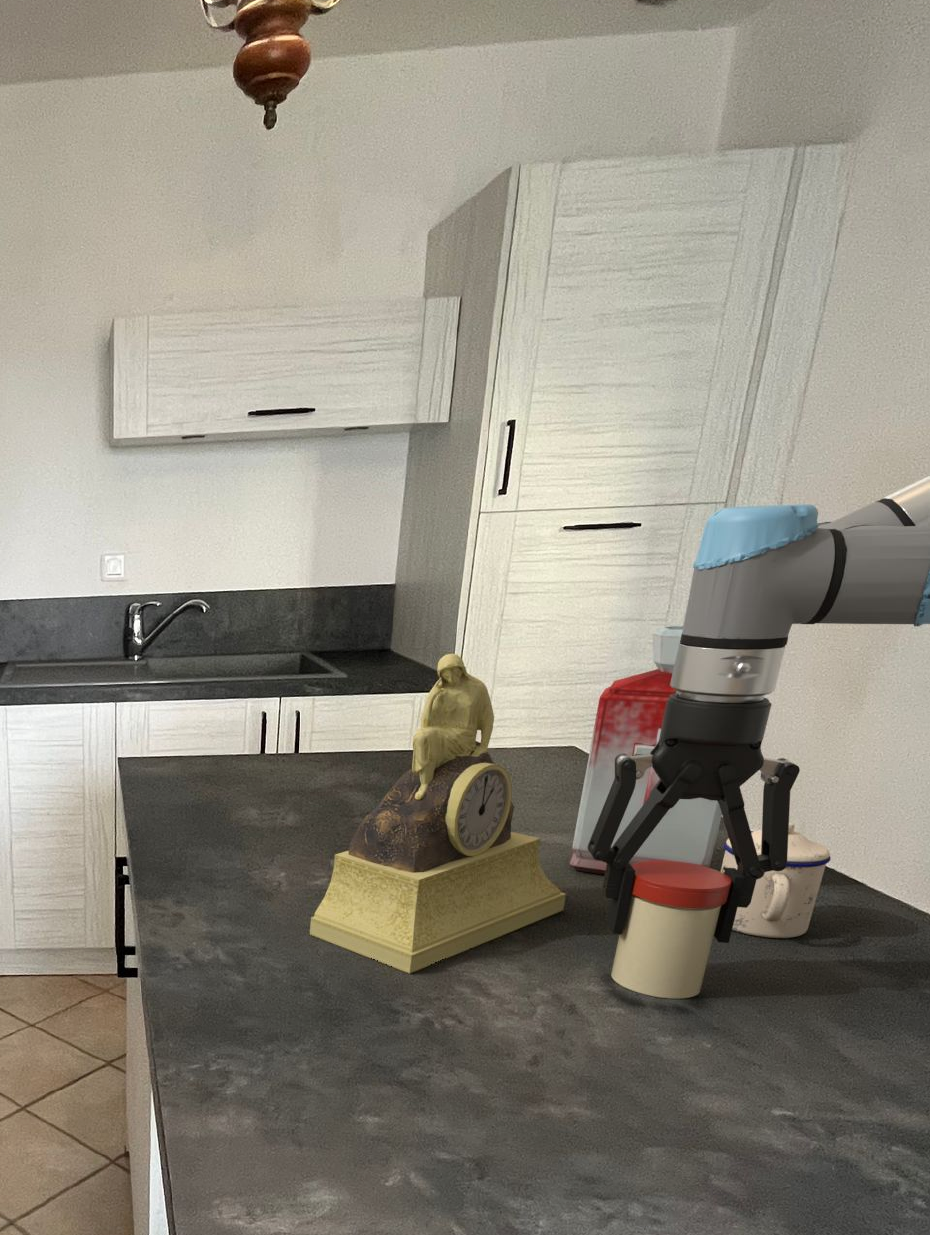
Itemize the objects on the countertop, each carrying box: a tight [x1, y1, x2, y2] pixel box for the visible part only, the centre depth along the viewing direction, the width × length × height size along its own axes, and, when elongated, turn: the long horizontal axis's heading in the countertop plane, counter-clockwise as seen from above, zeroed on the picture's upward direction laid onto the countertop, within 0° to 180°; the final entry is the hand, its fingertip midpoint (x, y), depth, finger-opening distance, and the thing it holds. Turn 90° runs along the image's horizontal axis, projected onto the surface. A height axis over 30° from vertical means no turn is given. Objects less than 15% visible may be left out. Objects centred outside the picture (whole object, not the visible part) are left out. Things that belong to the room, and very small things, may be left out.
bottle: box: [569, 625, 723, 876], centre depth 119 cm, size 14×10×30 cm
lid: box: [631, 860, 732, 908], centre depth 92 cm, size 8×8×2 cm
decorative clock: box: [309, 653, 567, 975], centre depth 106 cm, size 28×13×30 cm, turn 123°
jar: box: [610, 893, 721, 1000], centre depth 94 cm, size 7×7×11 cm
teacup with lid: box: [719, 821, 831, 939], centre depth 104 cm, size 12×9×12 cm
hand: (665, 932), depth 94 cm, fingers closed on lid, 8 cm apart
